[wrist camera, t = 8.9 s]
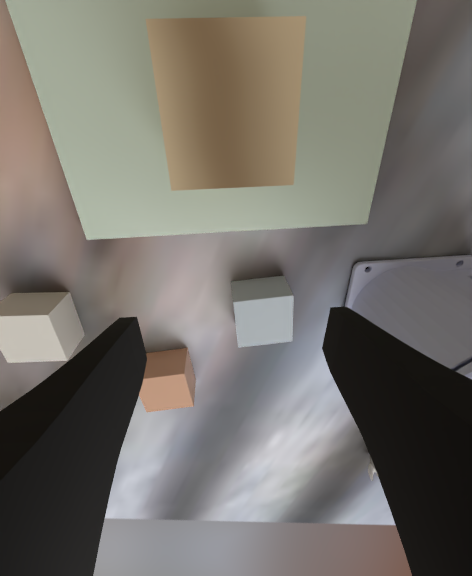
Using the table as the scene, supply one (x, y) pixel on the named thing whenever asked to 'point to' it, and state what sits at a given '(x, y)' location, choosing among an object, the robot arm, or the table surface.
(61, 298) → the light grey block
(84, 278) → the table surface
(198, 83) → the maple block
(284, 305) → the grey-blue block
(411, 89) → the table surface
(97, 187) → the sage board
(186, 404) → the terracotta block
